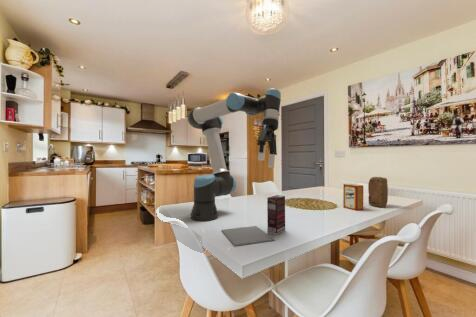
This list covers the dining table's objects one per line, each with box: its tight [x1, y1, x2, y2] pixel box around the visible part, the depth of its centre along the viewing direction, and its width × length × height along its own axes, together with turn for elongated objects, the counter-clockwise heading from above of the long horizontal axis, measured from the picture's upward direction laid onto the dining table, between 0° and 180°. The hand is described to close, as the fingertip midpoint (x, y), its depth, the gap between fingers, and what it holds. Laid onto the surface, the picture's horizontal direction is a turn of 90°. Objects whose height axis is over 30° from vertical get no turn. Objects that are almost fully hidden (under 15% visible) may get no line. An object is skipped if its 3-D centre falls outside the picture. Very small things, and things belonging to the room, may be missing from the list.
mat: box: [221, 225, 276, 247], centre depth 93 cm, size 18×17×1 cm
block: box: [367, 176, 389, 208], centre depth 150 cm, size 11×8×20 cm
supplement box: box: [266, 194, 286, 236], centre depth 98 cm, size 9×5×16 cm, turn 141°
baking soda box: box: [342, 183, 364, 212], centre depth 142 cm, size 10×6×16 cm
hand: (266, 164), depth 98 cm, fingers open, 13 cm apart
